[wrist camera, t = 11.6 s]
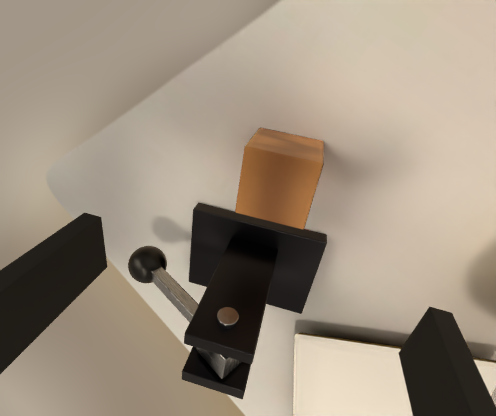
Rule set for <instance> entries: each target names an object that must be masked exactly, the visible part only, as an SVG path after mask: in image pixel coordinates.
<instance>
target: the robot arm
mask: <svg viewBox="0 0 496 416" xmlns="http://www.w3.org/2000/svg"><path fill="white" fill-rule="evenodd" d="M106 268H107V261H106V253H105V245H104V237H103V229H102V221H101V217H99V216H95V215H91V214H88V213H83V214H82V215H80V216H79V217H77V218H76V219H75V220H73V221H72V222H70V223H69V224H67V225H66V226H65V227H63V228H62V229H60V230H59V231H57V232H56V233H54V234H53V235H52V236H50V237H48V238H47V239H46V240H44V241H43V242H41V243H40V244H38V245H37V246H35V247H34V248H32V249H31V250H30V251H28V252H27V253H25V254H24V255H22V256H21V257H19V258H18V259H16V260H15V261H13V262H12V263H11V264H9V265H8V266H6V267H5V268H3V269H2V270H0V374H1V373H2V372H3V371H4V370H5V369H6V368H7V367H8V366H9V365H10V364H11V363H12V362H13V361H14V360H15V359H16V358H17V357H18V356H19V355H20V354H21V353H22V352H23V351H24V350H25V349H26V348H27V347H28V346H29V345H30V344H31V343H32V342H33V341H34V340H35V339H36V338H37V337H38V336H39V335H40V334H41V333H42V332H43V331H44V330H45V329H46V328H47V327H48V326H49V325H50V324H51V323H52V322H53V321H54V320H55V319H56V318H57V317H58V316H59V315H60V314H61V313H62V312H63V311H64V310H65V309H66V308H67V307H68V306H69V305H70V304H71V302H73V301H74V300H75V299H76V297H78V296H79V295H80V294H81V293H82V292H83V291H84V290H85V289H86V288H87V287H88V286H89V285H90V284H91V283H92V282H93V281H94V280H95V279H96V278H97V277H98V276H99V275H100V274H101V273H102V271H104V270H105V269H106ZM399 357H400V362H401V366H402V370H403V375H404V379H405V383H406V388H407V392H408V396H409V401H410V405H411V409H412V414H413V416H496V406H495V404H494V402H493V400H492V398H491V396H490V394H489V391H488V389H487V387H486V385H485V383H484V381H483V379H482V376H481V374H480V372H479V370H478V368H477V366H476V364H475V361H474V359H473V357H472V355H471V353H470V351H469V349H468V346H467V344H466V342H465V340H464V338H463V336H462V334H461V331H460V329H459V327H458V325H457V323H456V321H455V319H454V316H453V314H452V313H450V312H447V311H443V310H439V309H436V308H432V307H429V308H428V310H427V311H426V313H425V314H424V316H423V317H422V319H421V320H420V322H419V323H418V325H417V326H416V328H415V329H414V331H413V332H412V334H411V335H410V337H409V338H408V340H407V341H406V343H405V344H404V346H403V347H402V349H401V350H400V352H399Z"/></svg>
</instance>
